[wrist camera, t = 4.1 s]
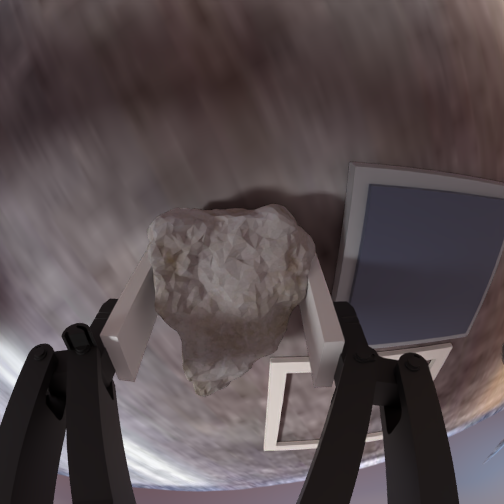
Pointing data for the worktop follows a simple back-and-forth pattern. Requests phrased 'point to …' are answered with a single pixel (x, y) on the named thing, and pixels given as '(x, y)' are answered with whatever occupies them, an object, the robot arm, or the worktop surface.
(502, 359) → the lighter
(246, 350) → the stone
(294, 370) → the white flat square frame
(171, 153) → the worktop surface
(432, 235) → the ink pad
